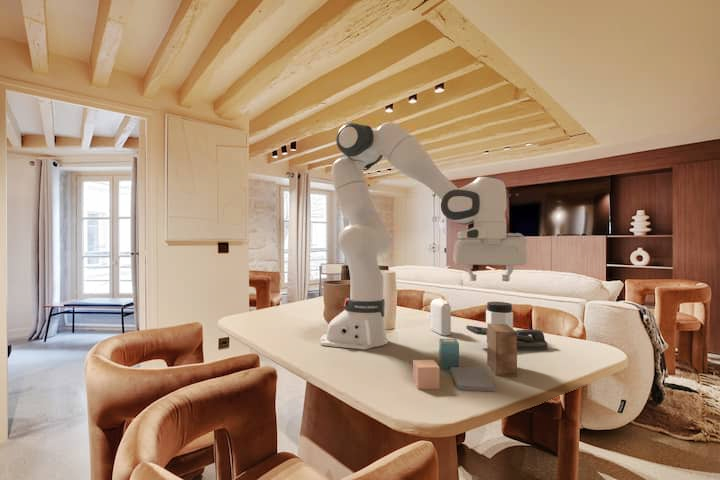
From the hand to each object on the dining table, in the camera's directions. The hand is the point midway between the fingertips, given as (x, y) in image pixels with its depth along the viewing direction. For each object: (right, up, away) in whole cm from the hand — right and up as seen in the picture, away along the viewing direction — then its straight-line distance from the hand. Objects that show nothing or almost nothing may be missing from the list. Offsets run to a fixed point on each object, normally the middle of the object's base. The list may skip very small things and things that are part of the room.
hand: (489, 280), depth 103 cm
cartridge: (-14, -22, -8) cm, 27 cm away
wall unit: (0, -22, -9) cm, 24 cm away
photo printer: (-7, -23, +29) cm, 38 cm away
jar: (+12, -23, +23) cm, 35 cm away
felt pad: (-10, -22, -16) cm, 29 cm away
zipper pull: (+10, -23, +11) cm, 27 cm away
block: (-22, -22, -19) cm, 37 cm away
